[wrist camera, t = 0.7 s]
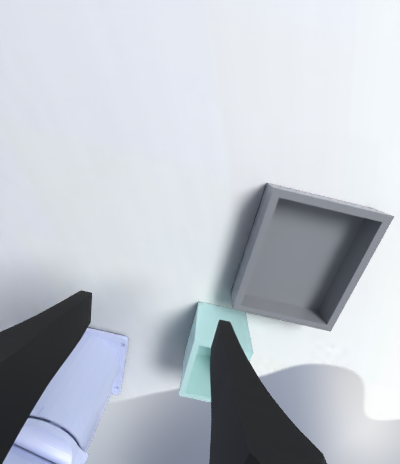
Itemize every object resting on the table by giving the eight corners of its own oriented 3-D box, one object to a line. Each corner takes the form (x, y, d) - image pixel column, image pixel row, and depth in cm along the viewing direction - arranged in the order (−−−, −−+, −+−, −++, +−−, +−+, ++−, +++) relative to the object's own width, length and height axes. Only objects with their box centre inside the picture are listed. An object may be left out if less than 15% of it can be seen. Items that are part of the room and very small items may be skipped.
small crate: (245, 312, 24) (253, 352, 19) (227, 360, 26) (230, 406, 22) (198, 301, 24) (194, 339, 19) (185, 350, 26) (178, 395, 21)
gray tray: (372, 208, 19) (394, 216, 17) (318, 312, 23) (330, 331, 21) (266, 182, 19) (274, 187, 17) (230, 292, 23) (232, 309, 21)
